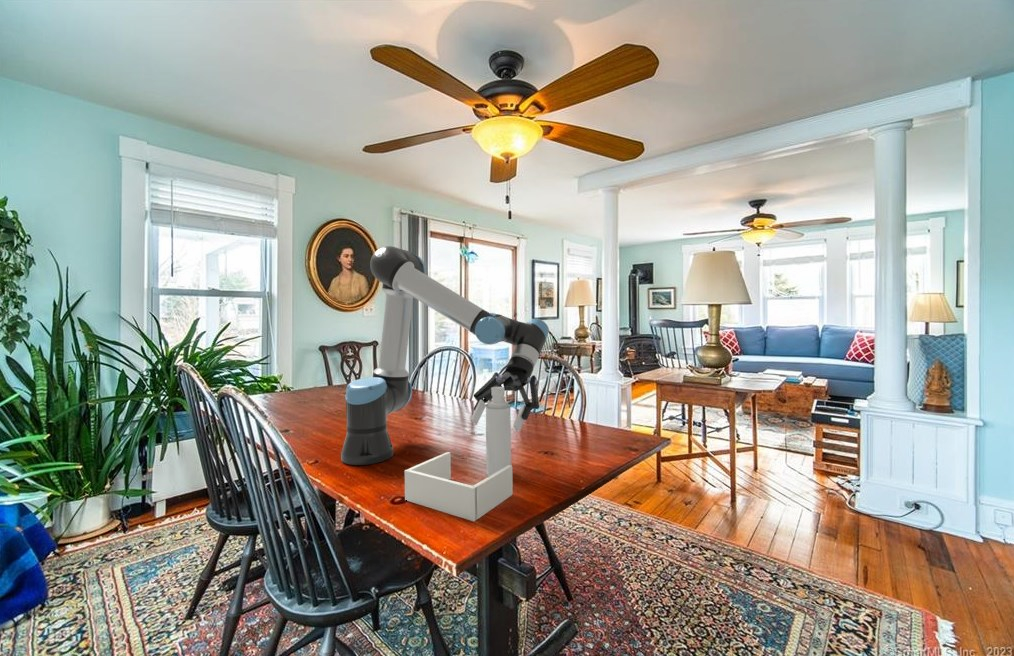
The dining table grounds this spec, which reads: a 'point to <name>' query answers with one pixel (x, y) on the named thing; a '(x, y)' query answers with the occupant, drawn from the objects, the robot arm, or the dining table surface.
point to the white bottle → (498, 432)
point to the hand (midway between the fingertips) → (494, 425)
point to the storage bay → (455, 489)
